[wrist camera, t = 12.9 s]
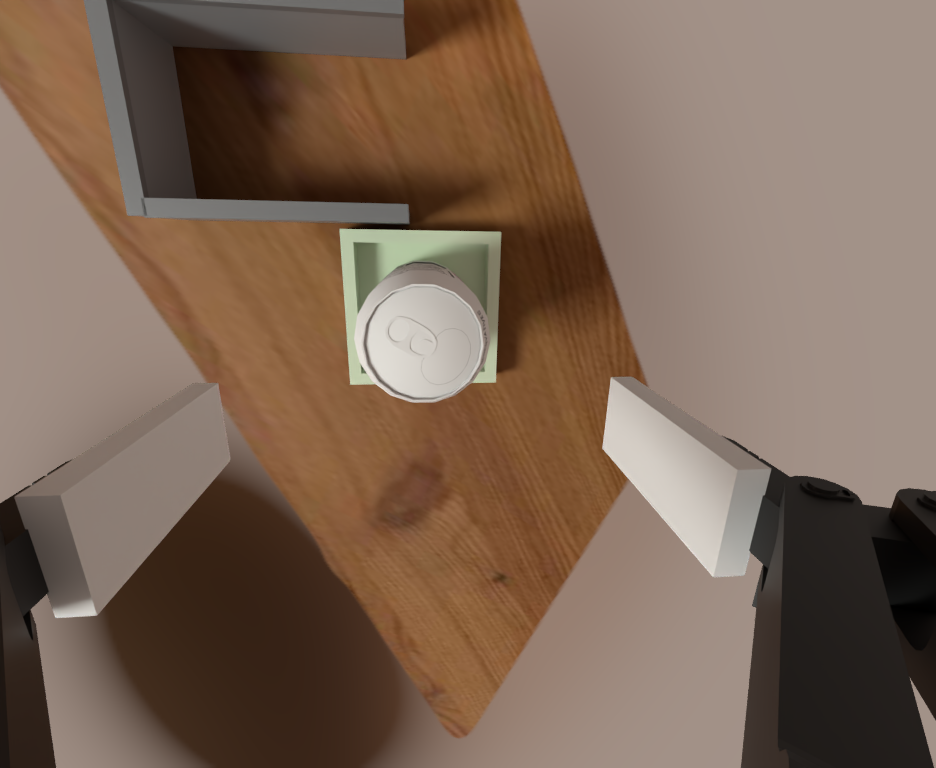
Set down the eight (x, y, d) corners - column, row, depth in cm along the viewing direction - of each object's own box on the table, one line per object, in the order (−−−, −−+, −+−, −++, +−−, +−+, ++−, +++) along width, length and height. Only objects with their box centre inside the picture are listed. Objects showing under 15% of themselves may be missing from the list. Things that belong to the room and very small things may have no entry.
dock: (153, 27, 32) (77, -33, 25) (407, 42, 34) (403, -11, 27) (186, 221, 36) (127, 217, 29) (411, 225, 38) (408, 222, 31)
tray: (344, 229, 38) (339, 228, 36) (496, 232, 39) (501, 231, 37) (354, 376, 42) (350, 384, 40) (491, 374, 43) (495, 382, 41)
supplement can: (485, 290, 40) (520, 319, 26) (438, 367, 42) (447, 434, 28) (405, 240, 38) (395, 242, 24) (360, 323, 40) (325, 371, 26)
